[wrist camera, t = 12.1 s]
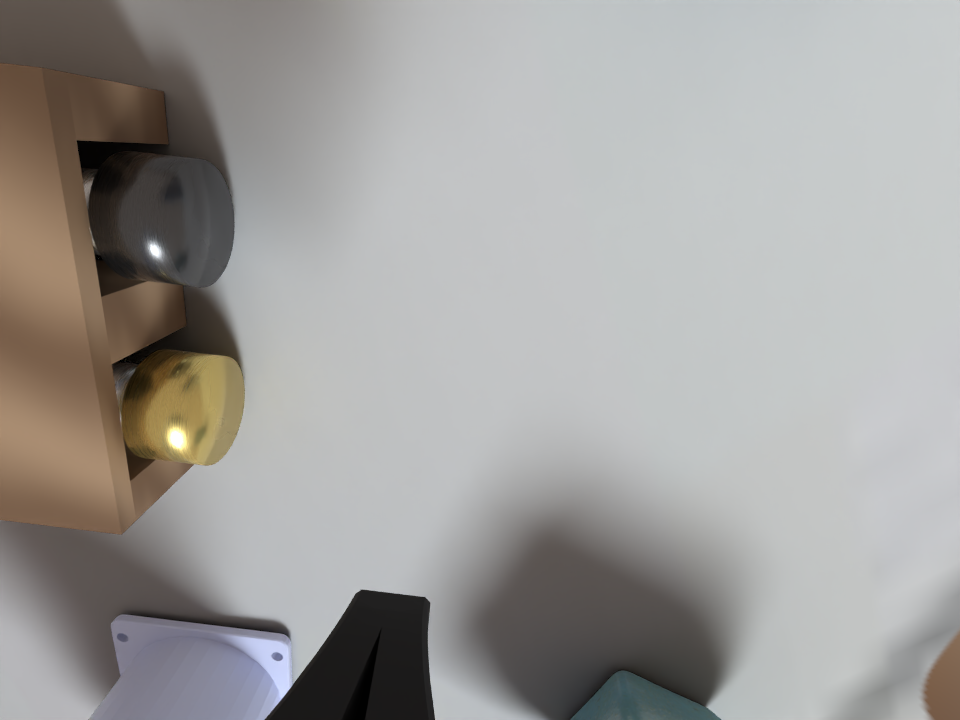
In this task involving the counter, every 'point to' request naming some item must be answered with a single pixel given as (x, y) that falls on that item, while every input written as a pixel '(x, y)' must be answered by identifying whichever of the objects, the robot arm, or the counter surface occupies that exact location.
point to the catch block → (70, 309)
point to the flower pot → (639, 702)
